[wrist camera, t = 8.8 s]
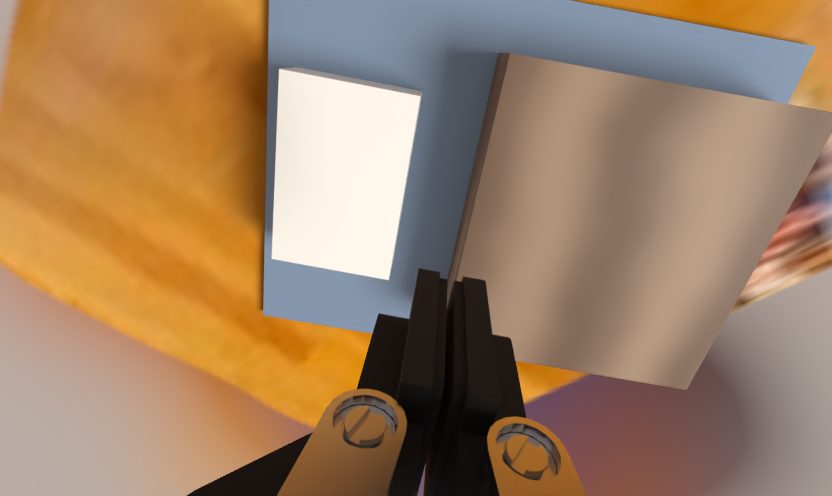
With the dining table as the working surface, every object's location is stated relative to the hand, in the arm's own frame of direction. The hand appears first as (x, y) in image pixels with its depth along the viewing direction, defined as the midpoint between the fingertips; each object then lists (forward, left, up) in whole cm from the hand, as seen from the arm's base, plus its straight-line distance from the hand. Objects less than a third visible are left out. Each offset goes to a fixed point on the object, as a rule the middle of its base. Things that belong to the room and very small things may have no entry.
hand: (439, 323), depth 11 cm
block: (-8, 0, -13) cm, 15 cm away
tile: (+5, 0, -10) cm, 11 cm away
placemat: (-3, 0, -13) cm, 13 cm away
